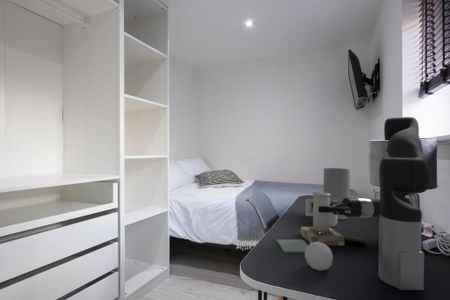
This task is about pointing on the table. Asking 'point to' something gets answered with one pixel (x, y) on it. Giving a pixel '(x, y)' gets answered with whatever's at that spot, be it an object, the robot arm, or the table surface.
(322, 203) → the jug
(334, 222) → the mug
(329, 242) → the stand
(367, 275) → the table surface
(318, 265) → the geometric ball
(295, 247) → the mat
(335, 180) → the cylinder vase
